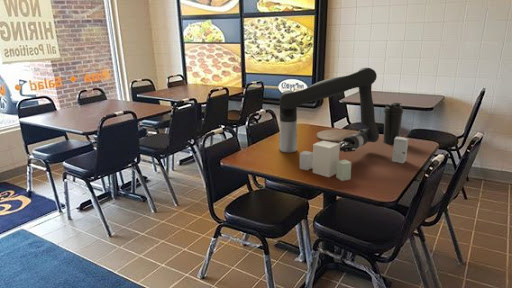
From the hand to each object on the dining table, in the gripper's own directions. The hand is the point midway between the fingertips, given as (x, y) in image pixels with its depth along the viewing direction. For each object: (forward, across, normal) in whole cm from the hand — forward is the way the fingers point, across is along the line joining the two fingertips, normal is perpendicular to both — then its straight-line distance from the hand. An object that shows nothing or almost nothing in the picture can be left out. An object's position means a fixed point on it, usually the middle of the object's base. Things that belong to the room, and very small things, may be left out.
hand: (334, 150), depth 175 cm
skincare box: (-29, +20, +9) cm, 36 cm away
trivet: (-48, -28, +10) cm, 56 cm away
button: (+5, 0, +3) cm, 5 cm away
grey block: (+8, -10, +9) cm, 16 cm away
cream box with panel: (+7, 0, +9) cm, 11 cm away
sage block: (+8, +10, +9) cm, 16 cm away
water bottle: (-57, +2, +9) cm, 58 cm away
